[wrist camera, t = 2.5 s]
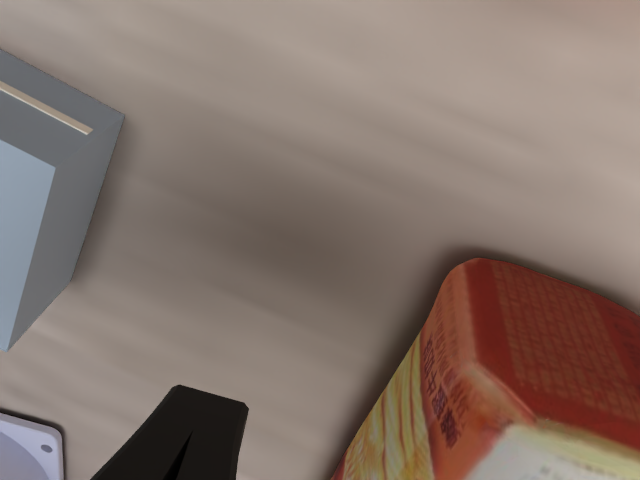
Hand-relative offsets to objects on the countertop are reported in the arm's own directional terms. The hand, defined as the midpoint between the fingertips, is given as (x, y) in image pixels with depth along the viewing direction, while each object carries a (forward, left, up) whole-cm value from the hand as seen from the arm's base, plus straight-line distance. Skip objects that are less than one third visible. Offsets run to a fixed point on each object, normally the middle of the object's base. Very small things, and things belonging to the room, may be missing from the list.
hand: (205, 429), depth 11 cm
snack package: (-10, -7, -9) cm, 15 cm away
